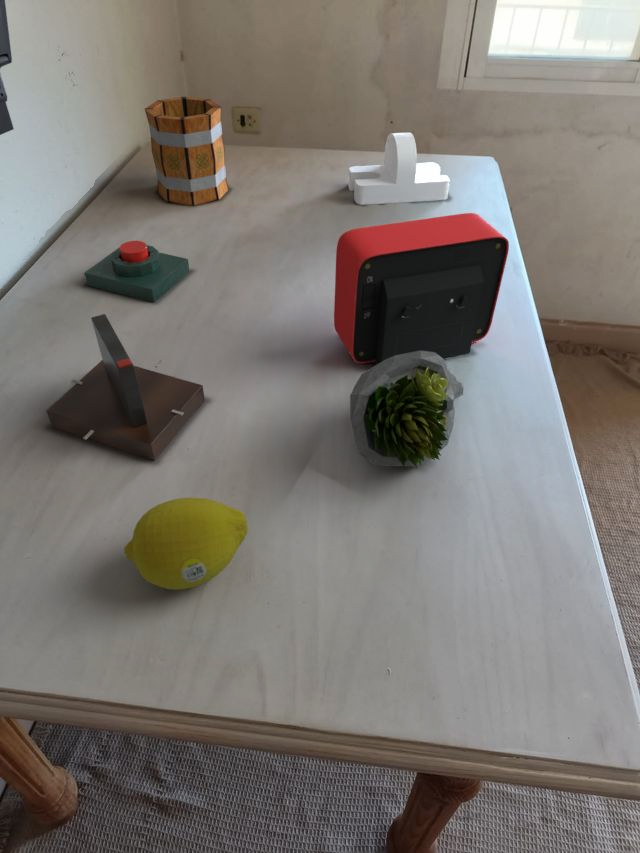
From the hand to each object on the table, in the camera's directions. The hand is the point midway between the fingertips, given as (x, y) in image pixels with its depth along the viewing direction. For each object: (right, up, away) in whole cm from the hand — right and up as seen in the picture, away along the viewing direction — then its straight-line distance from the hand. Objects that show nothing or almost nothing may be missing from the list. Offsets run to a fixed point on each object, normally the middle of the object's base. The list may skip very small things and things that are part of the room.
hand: (0, 131), depth 74 cm
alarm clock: (+50, -24, +11) cm, 57 cm away
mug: (+13, +13, +50) cm, 53 cm away
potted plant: (+48, -38, -3) cm, 61 cm away
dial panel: (+15, -33, 0) cm, 37 cm away
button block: (+10, -12, +23) cm, 28 cm away
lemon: (+26, -48, -15) cm, 57 cm away
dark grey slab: (+15, -32, -1) cm, 35 cm away
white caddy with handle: (+53, +11, +49) cm, 73 cm away
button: (+10, -9, +21) cm, 25 cm away
